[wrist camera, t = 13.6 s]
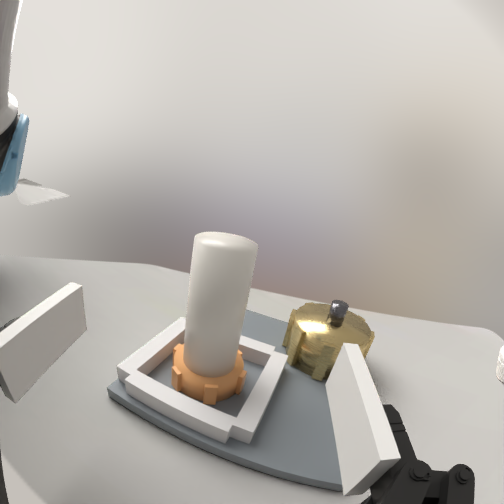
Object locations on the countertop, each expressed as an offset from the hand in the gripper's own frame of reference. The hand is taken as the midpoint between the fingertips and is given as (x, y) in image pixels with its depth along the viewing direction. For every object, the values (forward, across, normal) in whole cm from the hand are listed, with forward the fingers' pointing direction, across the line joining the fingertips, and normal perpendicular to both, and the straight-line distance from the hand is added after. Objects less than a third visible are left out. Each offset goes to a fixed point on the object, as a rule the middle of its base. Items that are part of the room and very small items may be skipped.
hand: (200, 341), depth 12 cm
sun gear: (+12, +10, -9) cm, 18 cm away
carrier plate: (+9, +4, -9) cm, 13 cm away
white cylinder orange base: (+6, 0, -8) cm, 10 cm away
